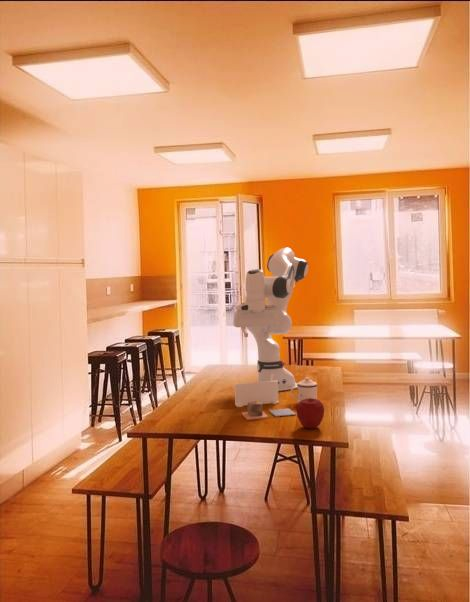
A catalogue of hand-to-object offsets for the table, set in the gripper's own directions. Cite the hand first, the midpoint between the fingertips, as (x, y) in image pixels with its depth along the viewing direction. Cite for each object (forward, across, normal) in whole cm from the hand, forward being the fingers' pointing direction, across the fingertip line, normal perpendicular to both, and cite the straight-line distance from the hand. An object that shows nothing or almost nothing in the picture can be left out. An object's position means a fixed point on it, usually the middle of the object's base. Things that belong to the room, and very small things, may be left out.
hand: (256, 336), depth 232 cm
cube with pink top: (+30, +6, +17) cm, 35 cm away
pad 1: (+31, +6, +17) cm, 36 cm away
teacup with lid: (+31, -21, +4) cm, 38 cm away
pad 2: (+31, -6, +17) cm, 36 cm away
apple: (+31, -10, +39) cm, 51 cm away
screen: (+31, 0, -1) cm, 31 cm away
